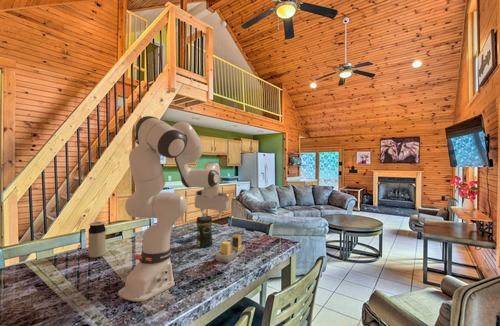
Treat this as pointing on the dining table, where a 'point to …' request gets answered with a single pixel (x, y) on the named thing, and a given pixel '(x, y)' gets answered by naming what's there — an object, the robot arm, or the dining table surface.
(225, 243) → the yellow block grey top
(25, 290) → the dining table surface
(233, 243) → the beige base with post
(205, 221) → the coffee jar
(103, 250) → the travel mug
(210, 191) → the robot arm
